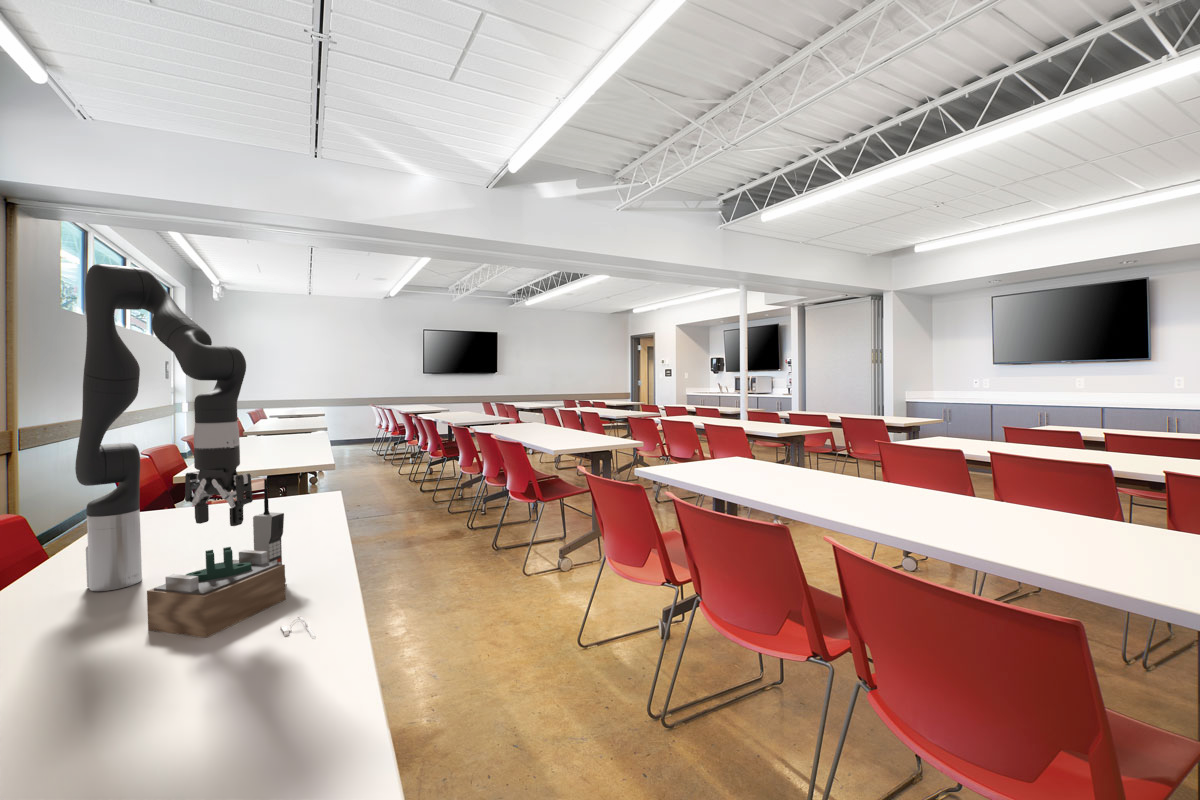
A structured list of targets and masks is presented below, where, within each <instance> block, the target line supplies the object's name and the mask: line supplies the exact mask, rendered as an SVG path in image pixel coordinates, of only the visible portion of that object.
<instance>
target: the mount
mask: <svg viewBox="0 0 1200 800" xmlns="http://www.w3.org/2000/svg"><path fill="white" fill-rule="evenodd" d="M222 552H223V553H222V554H223V562H217V563H215V562H216V560H215V552H214V549H209V550H205V568H203V569H199V570H196V571H192V572H188V573H186V574H185V575H189V576H198V581H206V580H212V579H217V578H222V577H228V576H233V575H236V574H240V573H243V572H247V571H250V570H251V569H252V566H251V563H250V562H246V563H236V564H233V560H234V557H233V550H232V547H231V546H225V547H223V549H222Z"/></svg>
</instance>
